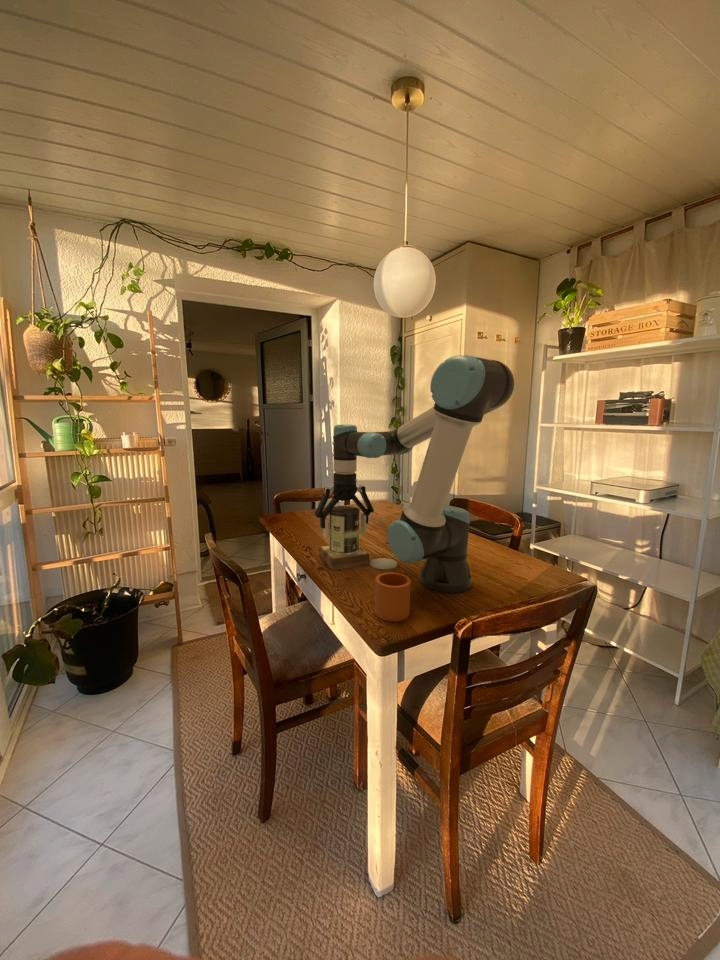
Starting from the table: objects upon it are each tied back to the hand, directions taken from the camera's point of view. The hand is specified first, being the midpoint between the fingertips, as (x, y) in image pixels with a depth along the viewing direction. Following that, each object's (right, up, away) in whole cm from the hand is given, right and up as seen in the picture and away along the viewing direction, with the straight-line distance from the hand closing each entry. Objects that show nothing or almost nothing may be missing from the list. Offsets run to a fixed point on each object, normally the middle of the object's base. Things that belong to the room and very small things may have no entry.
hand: (344, 535), depth 133 cm
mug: (+13, -15, -31) cm, 37 cm away
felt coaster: (+13, -10, -1) cm, 16 cm away
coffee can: (0, -5, +1) cm, 5 cm away
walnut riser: (0, -9, +2) cm, 9 cm away
